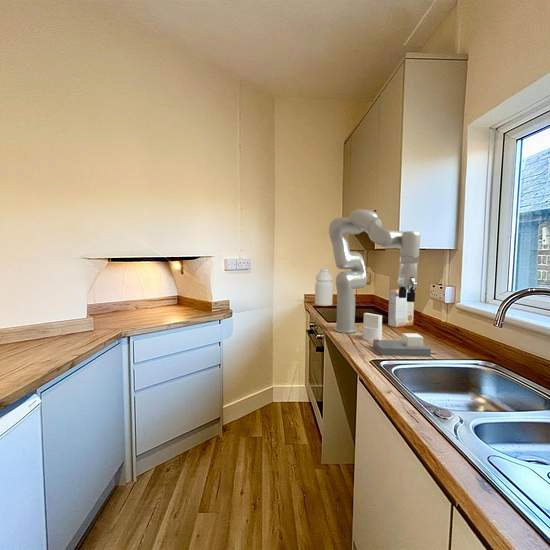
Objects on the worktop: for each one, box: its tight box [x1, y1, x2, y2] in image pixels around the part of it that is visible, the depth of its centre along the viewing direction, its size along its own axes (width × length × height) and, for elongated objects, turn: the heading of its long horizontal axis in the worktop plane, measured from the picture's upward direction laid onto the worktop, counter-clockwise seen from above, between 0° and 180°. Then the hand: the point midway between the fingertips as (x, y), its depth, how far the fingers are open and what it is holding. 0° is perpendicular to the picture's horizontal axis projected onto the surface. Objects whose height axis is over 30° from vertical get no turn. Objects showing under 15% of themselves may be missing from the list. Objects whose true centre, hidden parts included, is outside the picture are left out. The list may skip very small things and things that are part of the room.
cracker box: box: [387, 288, 415, 329], centre depth 193 cm, size 14×6×21 cm, turn 115°
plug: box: [401, 332, 424, 347], centre depth 144 cm, size 6×6×6 cm
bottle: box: [314, 268, 334, 307], centre depth 264 cm, size 14×14×28 cm
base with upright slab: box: [362, 312, 383, 342], centre depth 164 cm, size 9×9×12 cm
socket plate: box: [372, 339, 432, 357], centre depth 145 cm, size 13×20×4 cm, turn 89°
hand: (406, 299), depth 146 cm, fingers open, 9 cm apart
